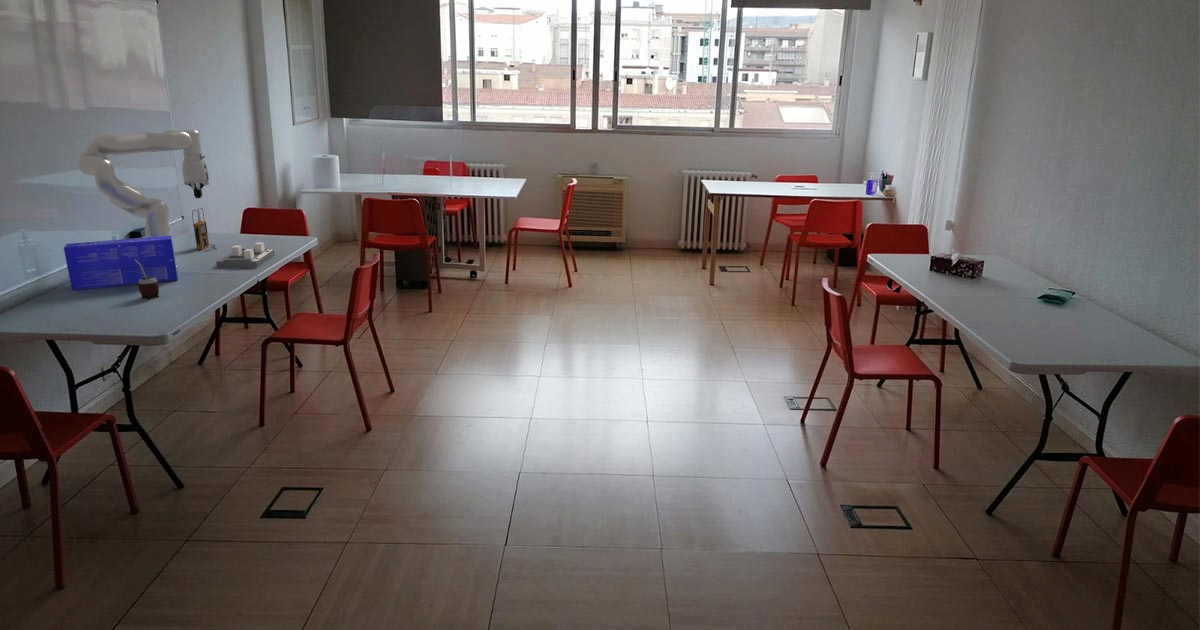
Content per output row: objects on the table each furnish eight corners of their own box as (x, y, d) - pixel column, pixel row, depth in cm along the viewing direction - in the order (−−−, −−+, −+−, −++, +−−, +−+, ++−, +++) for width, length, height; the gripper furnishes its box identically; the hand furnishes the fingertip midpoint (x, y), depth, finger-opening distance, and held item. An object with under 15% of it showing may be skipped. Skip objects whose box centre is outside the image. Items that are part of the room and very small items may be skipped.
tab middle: (238, 255, 377) (237, 247, 376) (232, 255, 377) (231, 247, 376) (242, 253, 381) (241, 245, 380) (235, 253, 381) (234, 245, 380)
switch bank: (257, 268, 369) (256, 260, 368) (216, 267, 369) (215, 260, 367) (274, 255, 392) (274, 248, 391) (236, 255, 391) (235, 247, 390)
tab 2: (261, 252, 384) (260, 244, 383) (255, 252, 384) (254, 244, 383) (264, 250, 388) (263, 242, 387) (258, 250, 388) (257, 242, 387)
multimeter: (213, 252, 397) (208, 211, 391) (193, 251, 397) (187, 211, 391) (227, 245, 411) (222, 206, 404) (207, 244, 411) (202, 205, 405)
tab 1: (251, 259, 371) (250, 251, 370) (244, 259, 371) (243, 251, 370) (254, 257, 375) (253, 249, 374) (247, 257, 375) (246, 249, 374)
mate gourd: (158, 299, 321) (152, 262, 317) (135, 300, 319) (129, 263, 314) (162, 294, 328) (156, 258, 323) (140, 295, 326) (134, 259, 321)
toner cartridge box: (178, 276, 354) (172, 235, 348) (178, 281, 347) (172, 239, 341) (73, 285, 337) (65, 242, 332) (71, 291, 330) (63, 246, 324)
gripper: (213, 156, 373) (218, 196, 378) (180, 156, 372) (185, 196, 377) (206, 158, 365) (211, 199, 371) (172, 158, 365) (178, 199, 370)
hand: (198, 197), depth 374 cm, fingers closed
